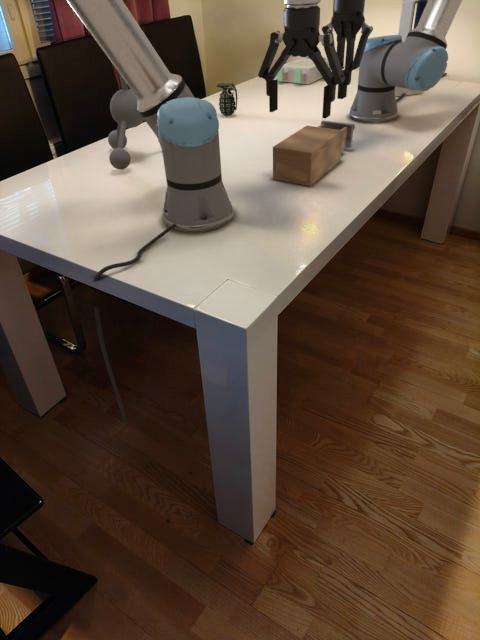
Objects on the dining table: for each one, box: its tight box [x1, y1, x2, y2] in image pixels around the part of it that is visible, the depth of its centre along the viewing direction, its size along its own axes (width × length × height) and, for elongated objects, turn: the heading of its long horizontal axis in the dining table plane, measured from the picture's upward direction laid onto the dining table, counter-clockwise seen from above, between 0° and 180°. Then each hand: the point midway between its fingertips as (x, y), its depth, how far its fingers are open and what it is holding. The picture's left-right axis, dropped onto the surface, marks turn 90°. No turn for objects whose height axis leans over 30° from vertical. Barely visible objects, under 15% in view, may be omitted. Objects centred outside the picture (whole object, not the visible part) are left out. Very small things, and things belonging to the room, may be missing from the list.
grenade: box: [215, 82, 238, 117], centre depth 166 cm, size 7×6×10 cm
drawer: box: [317, 120, 356, 152], centre depth 132 cm, size 24×9×6 cm, turn 148°
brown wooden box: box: [272, 125, 343, 187], centre depth 124 cm, size 19×10×8 cm, turn 148°
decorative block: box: [275, 56, 332, 85], centre depth 206 cm, size 26×6×20 cm
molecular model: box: [107, 72, 146, 171], centre depth 132 cm, size 24×22×30 cm
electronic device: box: [395, 0, 428, 98], centre depth 172 cm, size 12×8×30 cm, turn 105°
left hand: (299, 113), depth 113 cm, fingers open, 13 cm apart
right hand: (341, 97), depth 132 cm, fingers closed
